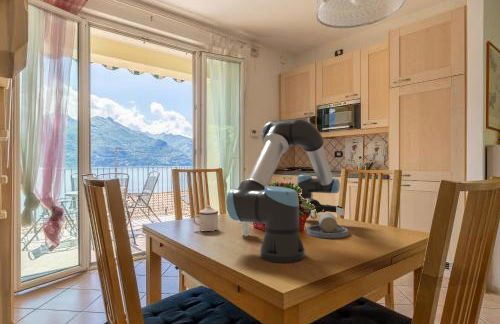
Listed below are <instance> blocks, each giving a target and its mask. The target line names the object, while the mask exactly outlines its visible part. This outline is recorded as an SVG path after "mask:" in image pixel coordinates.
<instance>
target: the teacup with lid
mask: <svg viewBox="0 0 500 324" xmlns="http://www.w3.org/2000/svg"><path fill="white" fill-rule="evenodd" d="M197 217H199V223H197V222H196V218H197ZM192 221H193V223H194V225H196V226H199V230H204V231H213V230H217V229H218V230H219V211H218V210H217V209H215V208H213V207H212V206H211V205H206V207H205V208H203V209H201V210H199V213H198V214H196V215H194V216H193V218H192ZM218 230H217V231H218Z"/></svg>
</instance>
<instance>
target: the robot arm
mask: <svg viewBox="0 0 500 324" xmlns="http://www.w3.org/2000/svg"><path fill="white" fill-rule="evenodd" d="M261 132H262V133H261V141H262V143H263V147H262V150H261V151H260V153H259V155H258V156H257V159H256V162H255V163H254V165H253V167H252V169H251V171H250V173H249V175H248V177H247V179H244V180H242V181H241V182H240V184H239V186H238V187H237V188H231V189H230V190H229V191H228V192H227V196H226V200H225V204H226V207H225V209H226V212H227V214H228V216H229V217H230V218H231V220H233V221H241V222H243V221H246V222H253V223H257V224H264V231H265V232H264V236H263V240H262V242H261V245H260V251H259V252H260V257H261V258H262V259H263V260H265V261H269V262H273V263H282V264H283V263H285V264H286V263H293V262H294V263H295V262H300V261H302V260H304V259H305V257H306V251H305V247H304V243H303V241H302V238H301V237H302V236H301V235H300V209H299V198H298V191H297V190H296V189H292V188H289V187H285V186H275V185H270V184H271V181H272V179H273V176H274V174H275V171H276V169H277V166H278V165H279V162H280V161H281V158H282V155H283V154H285V153H287V152H288V150H289V148H290V147H294V146H301V147H302V149H303V150H304V151H305V152H306V153H307V156H308V158H309V161H310V164H311V166H312V169H313V171H314V174H315V176H316V178H315V177H312V174H299V175H298V176H297V182H296V183H297V184H296V187H297V186H299V187H300V188H301V189H302V194H301V196H302V197H303V198H304V199H306V200H308V201H309V202H310V203H311V204H313V205H314V206H315V209H316V211H317V214H319V213H335V214H336V215H337V214H338V215H340V216H343V217H344V216H345V208H343V206H340V205H330V204H321V203H320V201H319V200H317V199H314V198H312V197H313V195H312V194H313V193H318V194H319V193H321V194H338V193H339V192H340V186H341V185H340V184H341V183H340V180H339V179H338V178H335V177H334V178H333V175H332V174H333V173H332V171H331V167H330V165H329V162H328V159H327V156H326V153H325V150H324V149H325V148H324V138H323V137H322V136H323V135H322V134H321V132H320V131H319V129H317V127H316V126H315V125H314V124H312V123H311V122H309V121H308V120H306V119H302V118H296V119H285V120H284V119H283V120H272V121H268V122H267V123H265V124H264V126H263V128H262V131H261ZM308 214H310V215H309V216H310V217H312V218H315V217H316V214H315V211H314V210H311V212H310V211H309V212H308Z"/></svg>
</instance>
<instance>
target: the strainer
mask: <svg viewBox="0 0 500 324" xmlns="http://www.w3.org/2000/svg"><path fill="white" fill-rule="evenodd" d="M236 221H237V220H236ZM237 224H238V225H241V235H244V236H243V237H249V236H250V225H251V224H254V222H246V221H243V222H241V221H237ZM248 235H249V236H248Z"/></svg>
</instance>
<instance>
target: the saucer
mask: <svg viewBox="0 0 500 324" xmlns="http://www.w3.org/2000/svg"><path fill="white" fill-rule="evenodd" d="M340 226H341V225H340ZM341 227H343V228H344V231H343V232H339V231H337V230H335V231H334V232H331V233H326V232H324V231H323V230H322V229H321V227H320V225H319V224H314V225H309V226H308V227H306V234H307V235H308V236H310V237H314V238H318V239H319V238H320V239H333V240H335V239H343V238H347V237H348V236H349V234H350V233H349V229H348V228H347V227H344V226H341Z"/></svg>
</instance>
